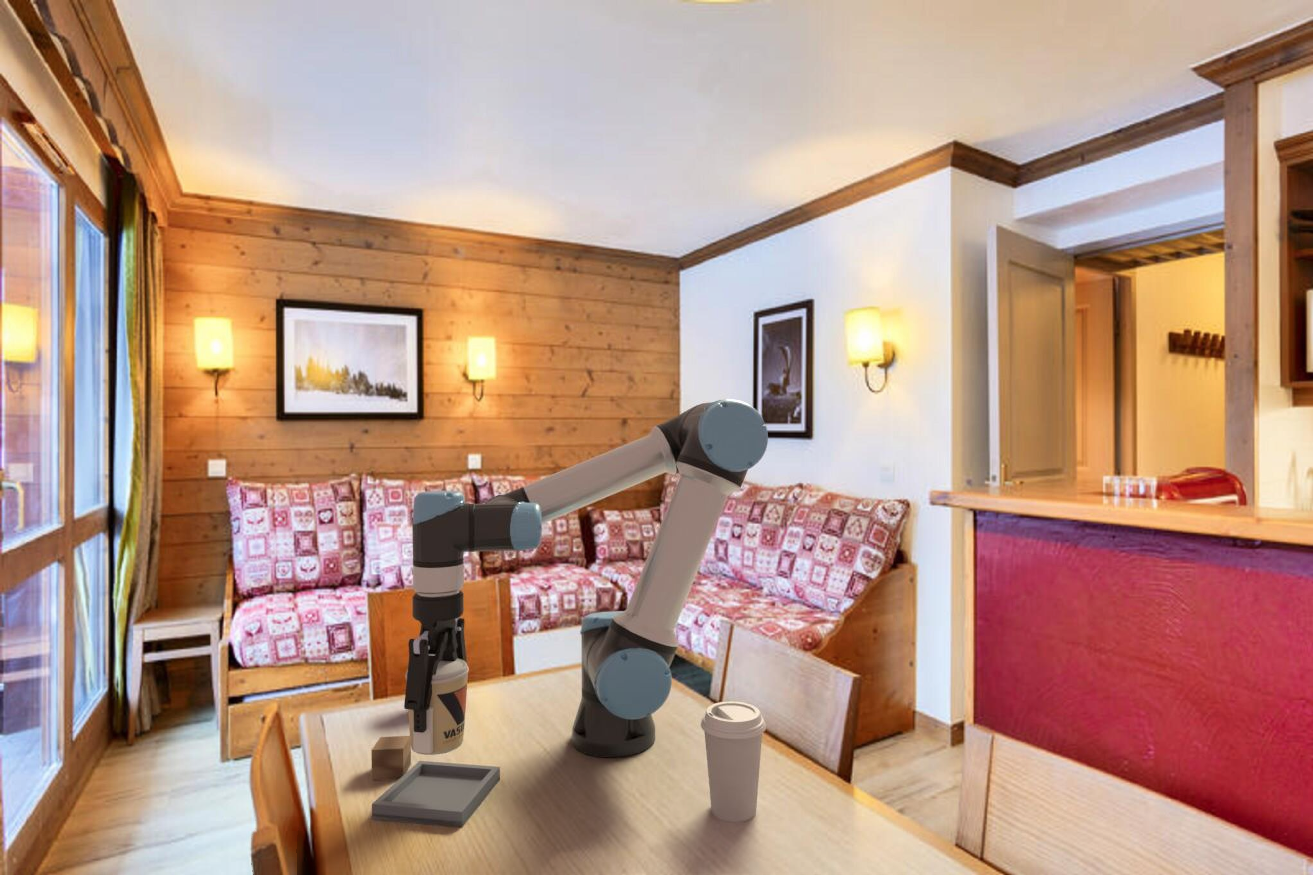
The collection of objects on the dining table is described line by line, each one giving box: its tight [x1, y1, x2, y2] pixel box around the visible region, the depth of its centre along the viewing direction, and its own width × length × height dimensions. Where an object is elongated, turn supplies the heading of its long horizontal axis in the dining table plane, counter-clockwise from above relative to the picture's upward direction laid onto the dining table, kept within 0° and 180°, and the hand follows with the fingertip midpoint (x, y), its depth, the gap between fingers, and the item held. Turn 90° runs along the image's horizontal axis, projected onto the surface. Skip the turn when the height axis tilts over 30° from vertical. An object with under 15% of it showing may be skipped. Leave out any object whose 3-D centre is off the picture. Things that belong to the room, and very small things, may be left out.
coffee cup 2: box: [700, 700, 767, 823], centre depth 104 cm, size 10×10×15 cm
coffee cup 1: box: [404, 659, 470, 756], centre depth 109 cm, size 9×9×12 cm
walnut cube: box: [371, 735, 412, 781], centre depth 118 cm, size 5×5×5 cm
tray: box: [371, 760, 501, 828], centre depth 109 cm, size 14×14×2 cm
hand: (437, 738), depth 109 cm, fingers closed on coffee cup 1, 9 cm apart
